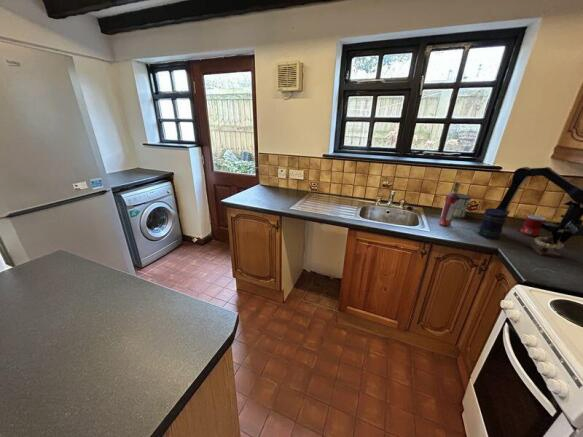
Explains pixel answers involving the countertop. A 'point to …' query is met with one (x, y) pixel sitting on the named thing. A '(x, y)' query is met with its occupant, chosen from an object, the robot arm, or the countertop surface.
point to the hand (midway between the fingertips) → (557, 243)
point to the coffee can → (462, 205)
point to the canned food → (532, 225)
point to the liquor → (450, 206)
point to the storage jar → (492, 223)
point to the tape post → (545, 249)
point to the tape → (556, 247)
